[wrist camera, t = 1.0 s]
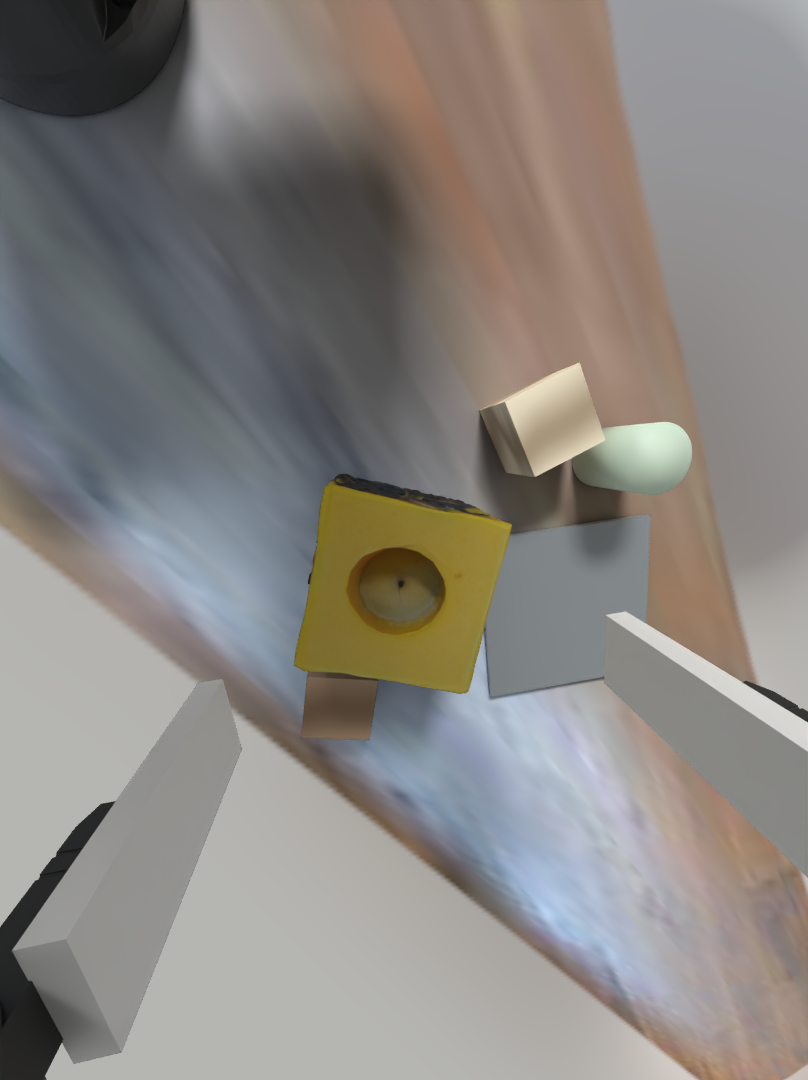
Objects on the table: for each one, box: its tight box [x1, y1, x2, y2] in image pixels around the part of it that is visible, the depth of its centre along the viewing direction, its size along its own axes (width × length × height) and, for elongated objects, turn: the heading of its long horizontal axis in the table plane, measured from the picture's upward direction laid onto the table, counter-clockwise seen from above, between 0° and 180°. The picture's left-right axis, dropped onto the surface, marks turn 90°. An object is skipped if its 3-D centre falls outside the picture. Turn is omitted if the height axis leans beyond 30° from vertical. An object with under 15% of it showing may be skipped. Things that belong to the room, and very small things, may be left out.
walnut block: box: [301, 671, 378, 740], centre depth 29 cm, size 5×5×4 cm
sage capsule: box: [572, 422, 692, 495], centre depth 26 cm, size 4×4×6 cm
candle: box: [294, 474, 512, 694], centre depth 24 cm, size 10×10×10 cm
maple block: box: [479, 363, 605, 477], centre depth 25 cm, size 5×5×5 cm
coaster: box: [485, 514, 651, 697], centre depth 31 cm, size 14×14×1 cm
